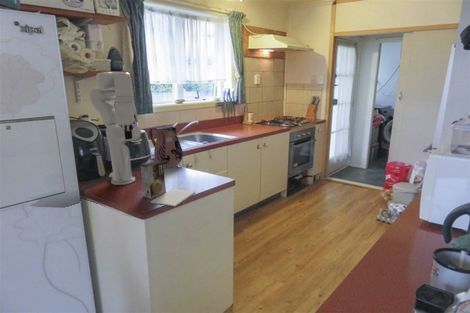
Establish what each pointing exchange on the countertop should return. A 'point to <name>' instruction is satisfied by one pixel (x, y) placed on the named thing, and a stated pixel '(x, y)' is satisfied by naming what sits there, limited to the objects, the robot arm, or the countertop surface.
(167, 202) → the mat
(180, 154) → the ceramic pitcher
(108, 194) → the countertop surface
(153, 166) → the coffee box
